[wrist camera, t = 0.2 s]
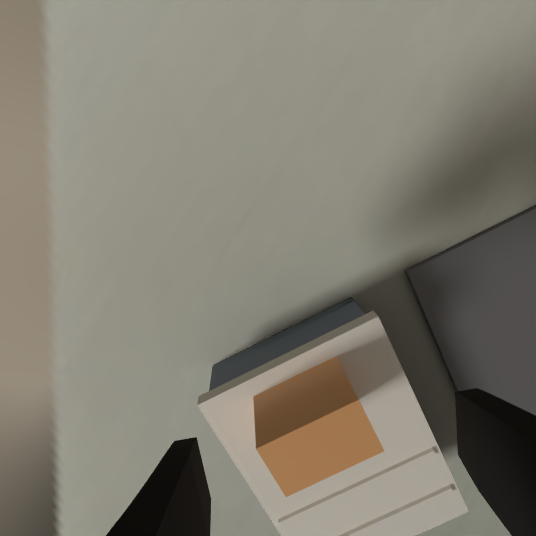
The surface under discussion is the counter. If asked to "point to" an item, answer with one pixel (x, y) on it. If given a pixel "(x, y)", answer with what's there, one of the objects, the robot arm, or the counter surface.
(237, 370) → the tub
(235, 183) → the counter surface
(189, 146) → the counter surface
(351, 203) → the counter surface
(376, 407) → the lid
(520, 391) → the board
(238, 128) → the counter surface
